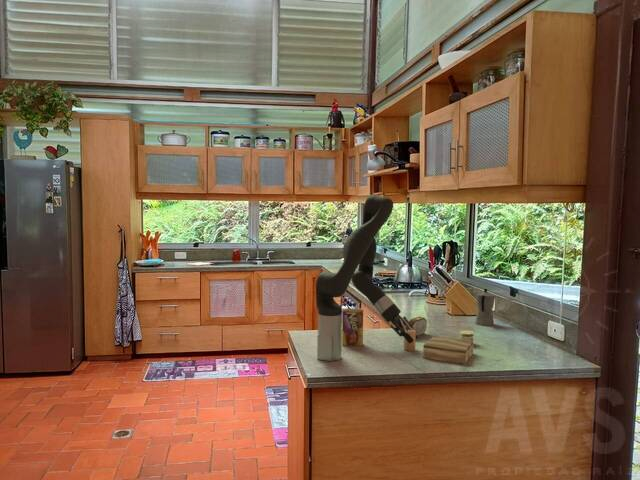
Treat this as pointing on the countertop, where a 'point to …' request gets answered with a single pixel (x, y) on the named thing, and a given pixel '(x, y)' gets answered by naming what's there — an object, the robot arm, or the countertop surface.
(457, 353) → the plinth
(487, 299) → the coffeepot
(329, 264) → the countertop surface
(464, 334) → the stacked layers on plate
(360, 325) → the candy box
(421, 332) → the tin
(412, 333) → the peach domed capsule
